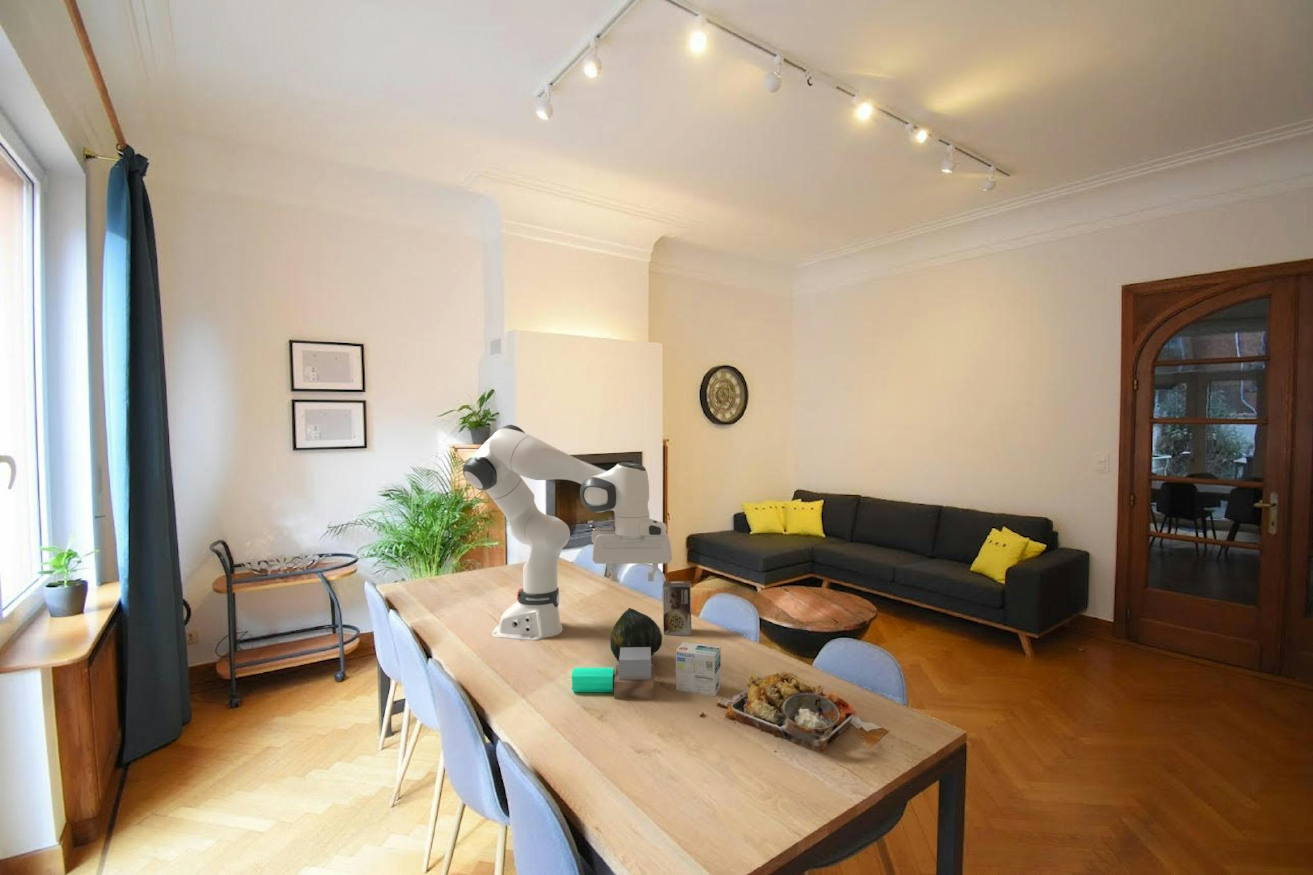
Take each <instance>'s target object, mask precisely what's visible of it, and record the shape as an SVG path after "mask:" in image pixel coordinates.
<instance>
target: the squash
mask: <svg viewBox="0 0 1313 875" xmlns="http://www.w3.org/2000/svg"><path fill="white" fill-rule="evenodd" d="M609 638H610V639H609V640H610V643H609V644H610V645H609V646H610V650H611V652H612V654H613V656H614V658H615V659H616V660H617V662H618V663H619V656H620V648H623V647H651V657H652V656H653V655H654V654H655V653H657V652H658V651H659V650H660V648H661V646H662V644H663V643H662V642H663V634H662V631H661V629H660V626H658V624H657V623H656V621H655V620H653V618H651V617H650V616H648V615H646V614H645V613H643V612H639V611H638V610H637V609H634V608H631V607H628V609H627V610H625V611H624V612H623V613H622V614H621V615H620V617H619V619H618V620H617V621H616V622H615V624H614V626H613V628H612V630H611V633H610V637H609Z"/></svg>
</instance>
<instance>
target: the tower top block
mask: <svg viewBox="0 0 1313 875" xmlns="http://www.w3.org/2000/svg"><path fill="white" fill-rule="evenodd" d="M618 665H619V680H639V679H651V665H652V656H651V647H623V648H620V656H619V662H618Z"/></svg>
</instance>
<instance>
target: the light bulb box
mask: <svg viewBox="0 0 1313 875" xmlns="http://www.w3.org/2000/svg"><path fill="white" fill-rule="evenodd" d="M721 651H722V650H721V645H712V644H702V643H692V642H686V641H682V642H681V644H680V645H679V646H678V647H677V649H676V650H675V690H676V691H681V692H686V693H692V694H699V695H704V696H712V697H716V696H717V694H718V692H719V691H720V688H721V687H722V655H721V654H722V653H721Z"/></svg>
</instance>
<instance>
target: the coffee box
mask: <svg viewBox="0 0 1313 875" xmlns="http://www.w3.org/2000/svg"><path fill="white" fill-rule="evenodd" d="M691 582H692V581H688V580H685V581H684V580H680V581H679V580H665V581H664V582H663V584H662V608H663V609H662V611H663V612H662V615H663V616H662V617H663V620H662V622H663V625H662V626H663V628H662V630H663V634H664V636H691V635H692V632H693V631H692V593H691V592H692V584H691ZM663 634H662V635H663Z"/></svg>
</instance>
